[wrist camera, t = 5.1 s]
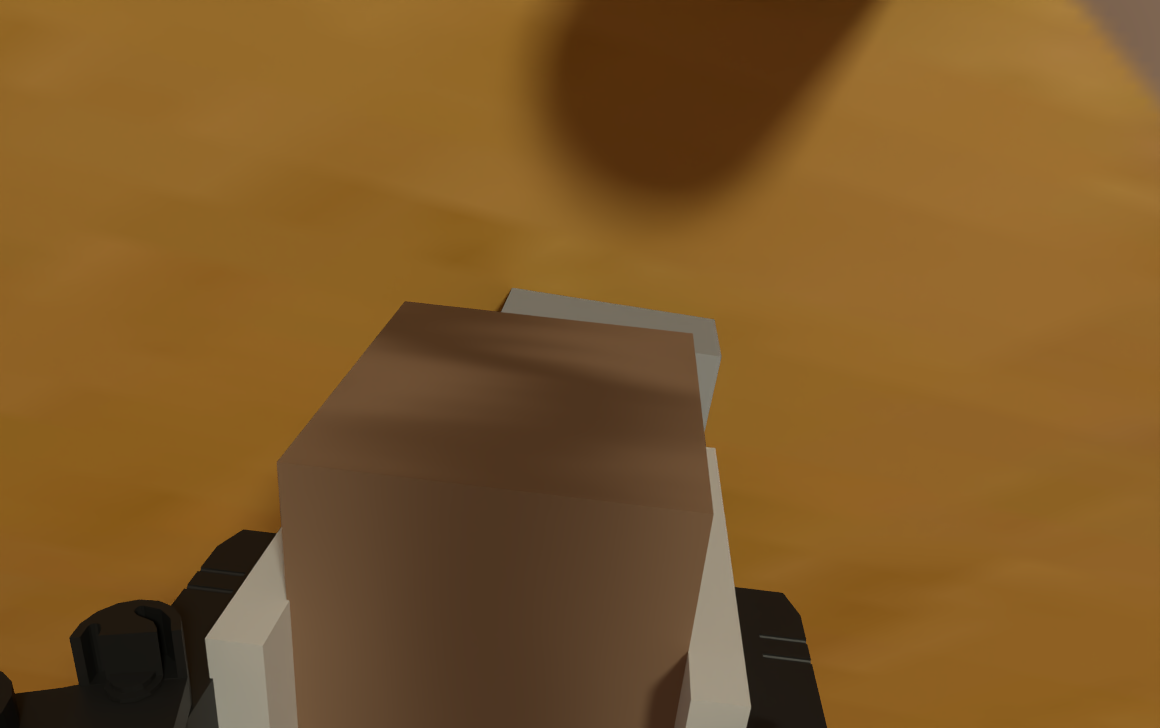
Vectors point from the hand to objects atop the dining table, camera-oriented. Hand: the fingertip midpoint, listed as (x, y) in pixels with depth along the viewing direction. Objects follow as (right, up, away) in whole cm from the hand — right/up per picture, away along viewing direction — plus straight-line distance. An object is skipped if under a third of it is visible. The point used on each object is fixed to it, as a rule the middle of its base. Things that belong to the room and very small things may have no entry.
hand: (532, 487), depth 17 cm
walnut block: (0, 0, 0) cm, 0 cm away
